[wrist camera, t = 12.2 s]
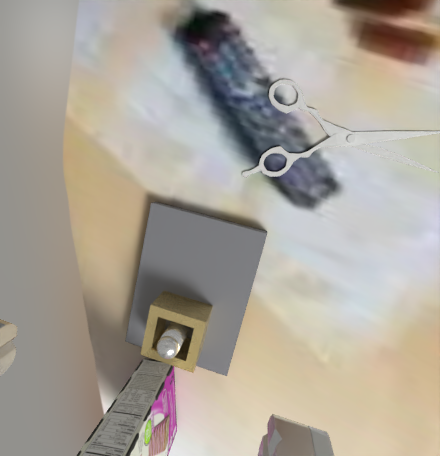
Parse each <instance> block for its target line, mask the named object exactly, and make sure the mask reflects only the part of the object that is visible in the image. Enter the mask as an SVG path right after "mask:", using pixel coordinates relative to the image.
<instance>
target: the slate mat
mask: <svg viewBox="0 0 440 456" xmlns="http://www.w3.org/2000/svg"><path fill="white" fill-rule="evenodd" d="M266 236H267V231H264V230H260V229H256V228H252V227H249V226H245V225H241V224H237V223H234V222H230V221H226V220H222V219H219V218H215V217H211V216H207V215H204V214H200V213H196V212H192V211H189V210H185V209H181V208H178V207H174V206H170V205H166V204H163V203H159V202H152V203H151V207H150V212H149V217H148V223H147V228H146V234H145V239H144V244H143V250H142V255H141V260H140V266H139V271H138V277H137V282H136V287H135V293H134V298H133V303H132V309H131V314H130V320H129V325H128V330H127V336H126V341H125V342H128V343H131V344H134V345H137V346H140V347H142V345H143V340H144V335H145V330H146V325H147V320H148V315H149V310H150V305H151V304H152V303H153V302H154V301H155V300H156V299H157V297H158V296H159V295H160V294H161V293H162V292H163V291H168V292H171V293H174V294H177V295H180V296H184V297H187V298H190V299H193V300H197V301H200V302H203V303H206V304H209V305H213V308H212V312H211V316H210V320H209V324H208V328H207V332H206V336H205V340H204V344H203V348H202V351H201V354H200V356H199V359H198V362H197V364H196V366H199V367H202V368H205V369H207V370H210V371H213V372H216V373H219V374H222V375H225V376H227V373H228V370H229V366H230V363H231V359H232V356H233V352H234V349H235V345H236V341H237V338H238V334H239V331H240V327H241V324H242V320H243V317H244V313H245V310H246V306H247V303H248V299H249V296H250V292H251V289H252V285H253V282H254V278H255V275H256V271H257V268H258V264H259V261H260V257H261V254H262V250H263V246H264V243H265V239H266ZM171 322H172V321H170V320H166V325H165V329H164V330H165V331H166V329H167V328H168V326H169V325H170V323H171ZM193 331H194V328H190V330H189V332H188V334H187V336H186V338H189V339H192V335H193Z"/></svg>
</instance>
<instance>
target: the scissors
mask: <svg viewBox="0 0 440 456" xmlns="http://www.w3.org/2000/svg"><path fill="white" fill-rule="evenodd" d="M282 84H287V85H292V86H293V88H294V89H295V90H296V91H297V93H298V100H297V102H296V103H295V104H293V105H291V106H286V105H282V104H279V103H278V102H277V101H276V100H275V99H274V97H273V95H274V91H275V88H276V87H277V86H279V85H282ZM269 99H270V101H271V104H272V105H273V106H274V107H275V108H277V109H278V110H279V111H282V112H284V113H289V112H291V111H293V110H296V109H298V108H299V109H300V110H302V111H306V112H309V113H310V114H311V115H313V116H314V117H315V119H316V120H317V121H318V122H319V123H320V124H321V126H322V128H323V130H324V131H325V132H326V133H327V135H328V136H330V137H329V138H328V139H326V140H325V141H323V142H321V143H320V144H318V145H317V146H315V147H314V148H312V149H310V150H309V151H307V152H304V153H301V154H294V153H288V152H287V151H285V150H284V149H283V148H282V147H281V146H280V147H274V148H271V149H270V150H268V151H266V152H265V153H264V154H263V155H262V157H261V158H260V162H259V166H258V167H256V168H254V169H252V170H250V171H245V172H243V174H242V175H243V177H248V176H249V175H251V174H253V173H256V172H258V171H260V170H261V171H262V173H263V174H266V175H268V176H280V175H282V174H284V173H285V172H287V170H288V169H289V168H290V167H291V165H292V163H293V162H294V161H295V160H297V159H298V158H300V157H309V156H310V155H311V154H312V152H314V151H315V150H317V149H318V148H327V147H341V146H351V147H354V148H357V149H360V150H363V151H365V152H368V153H371V154H374V155H377V156H380V157H384V158H387V159H390V160H394V161H398V162H401V163H405V164H408V165H412V166H415V167H418V168H422V169H426V170H430V171H434V170H432V169H430V168H428V167H426V166H424V165H422V164H420V163H417V162H415V161H413V160H411V159H409V158H407V157H405V156H402V155H399V154H397V153H394V152H391V151H388V150H386V149H384V148H381V147H376V146H371V145H366V144H368V143H376V142H383V141H390V140H398V139H404V138H411V137H417V136H424V135H430V134H437V133H440V131H374V132H351V131H349V130H346V129H344V128H341V127H338V126H335V125H333V124H331V123H329V122H327V121H324V120H323V119H322V118H321V117H320V115H319V112H318V110H316V109H312V108H309V107H307V106H306V103H305V100H304V97H303V93H302V90H301V89H300V88H299V86H298V85H297V84H296V83H294V82H293V81H291V80H285V79H284V80H279V81H277V82H276V83H274V84H273V85H272V86H271V88H270V90H269ZM272 153H279V154H283V155H284V156H285V157H286V158H287V163H286V167H285V168H284V169H282V170H281V171H278V172H270V171H267V170H266V169H265V167H264V165H263V163H264V159H265V158H266V156H268V155H269V154H272ZM434 172H437V171H434ZM438 173H439V172H438Z"/></svg>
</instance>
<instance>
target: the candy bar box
mask: <svg viewBox="0 0 440 456" xmlns="http://www.w3.org/2000/svg"><path fill="white" fill-rule="evenodd" d="M176 432H177V424H176V405H175V379H174V366H172V365H169V364H166V363H163V362H160V361H155V360H146V359H143V360H142V361H141V363H140V364H139V366H138V367H137V369H136V370H135V371H134V373H133V374H132V376H131V377H130V379H129V380H128V382H127V383H126V384H125V386H124V387H123V389H122V390H121V392H120V393H119V395H118V396H117V397H116V399H115V400H114V402H113V403H112V405H111V406H110V408H109V409H108V410H107V412H106V414H105V415H104V417H103V418H102V419H101V421H100V422H99V424H98V425H97V427H96V428H95V429H94V431H93V432H92V434H91V435H90V437H89V438H88V440H87V441H86V443H85V444H84V446H83V447H82V448H81V450H80V451H79V453H78V454H77V456H168V454H169V451H170V448H171V446H172V443H173V440H174V437H175V434H176Z"/></svg>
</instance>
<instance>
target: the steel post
mask: <svg viewBox="0 0 440 456" xmlns="http://www.w3.org/2000/svg"><path fill="white" fill-rule="evenodd" d="M190 328H191V327H188V326H185V325H182V324H179V323H176V322H173V321H172V322H171V323H170V325H169V326H168V328H167V329H166V331H165V332H164V333H163V335H162V336H161V338H160V339H159V341H158V343H157V352H158V354H159V355H160V356H161V357H162V358H164V359H171V358H173V357H174V356H176V355H177V353H178V352H179V350H180V348H181V346H182V344H183V342H184V340H185V338H186V336H187V334H188V332H189V330H190Z"/></svg>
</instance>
